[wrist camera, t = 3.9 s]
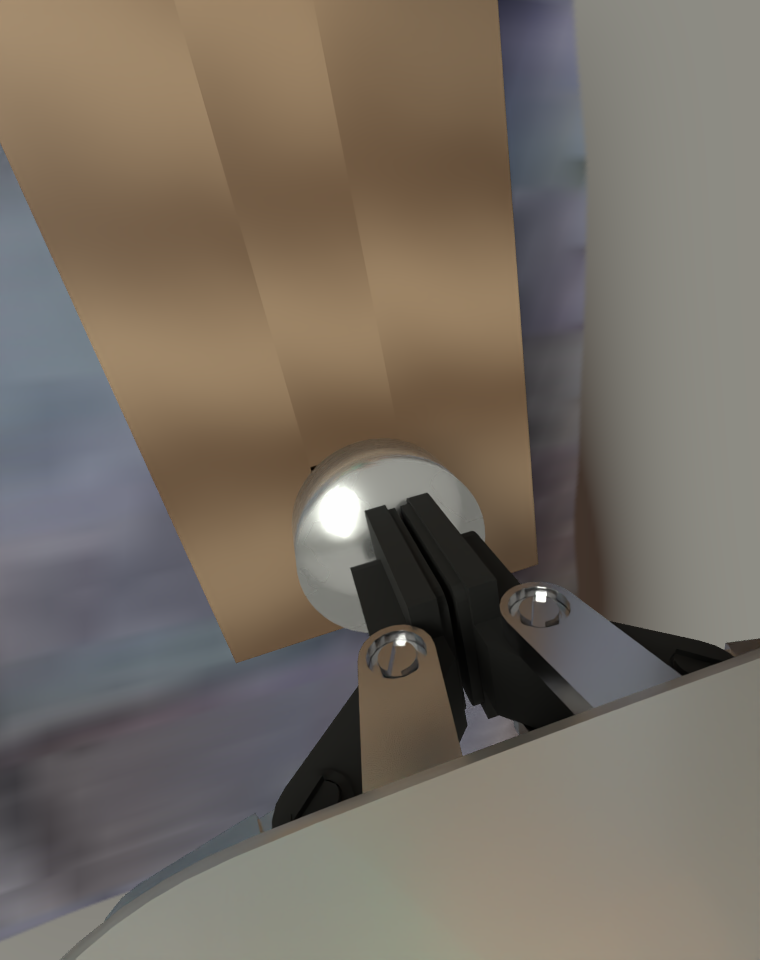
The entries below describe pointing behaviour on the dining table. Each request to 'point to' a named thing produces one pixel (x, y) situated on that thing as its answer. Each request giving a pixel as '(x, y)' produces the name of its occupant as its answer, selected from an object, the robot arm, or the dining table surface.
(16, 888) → the dining table surface
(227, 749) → the dining table surface
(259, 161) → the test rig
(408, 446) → the silver oval piece
